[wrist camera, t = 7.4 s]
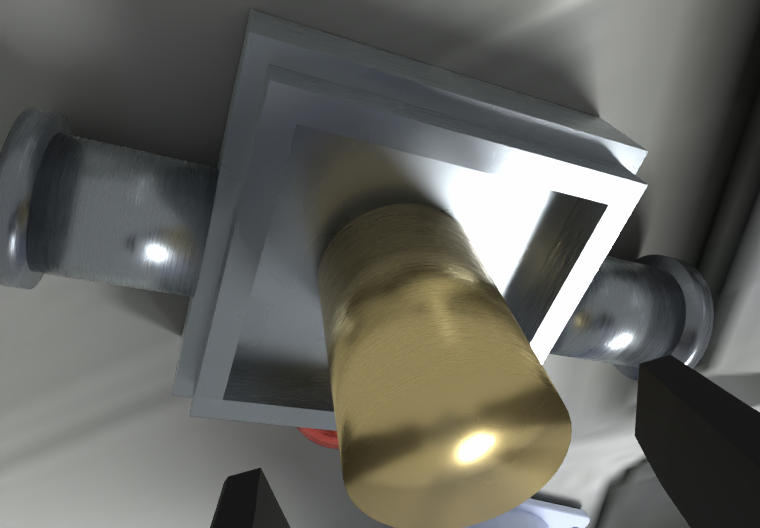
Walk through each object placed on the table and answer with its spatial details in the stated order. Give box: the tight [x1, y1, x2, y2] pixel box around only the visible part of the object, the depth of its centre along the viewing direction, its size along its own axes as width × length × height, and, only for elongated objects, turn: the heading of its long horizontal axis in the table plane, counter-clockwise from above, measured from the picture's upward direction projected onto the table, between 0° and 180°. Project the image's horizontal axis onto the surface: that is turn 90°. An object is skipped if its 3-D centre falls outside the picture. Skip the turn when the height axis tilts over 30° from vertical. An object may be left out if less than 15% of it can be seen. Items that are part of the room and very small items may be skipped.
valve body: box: [0, 9, 714, 449], centre depth 17 cm, size 18×11×4 cm, turn 71°
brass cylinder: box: [318, 204, 572, 528], centre depth 13 cm, size 4×4×6 cm
